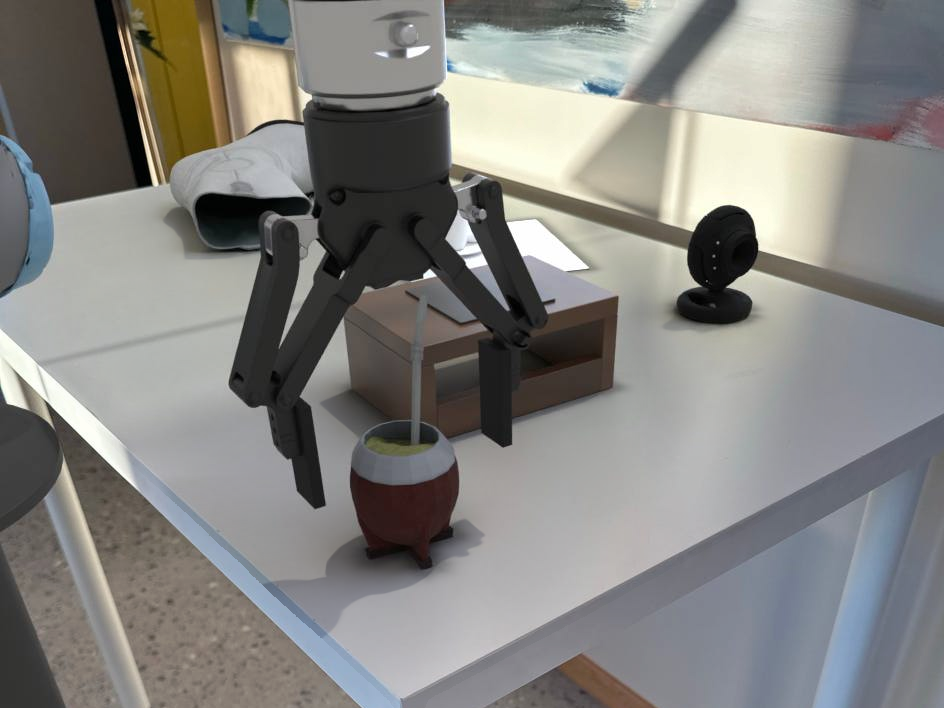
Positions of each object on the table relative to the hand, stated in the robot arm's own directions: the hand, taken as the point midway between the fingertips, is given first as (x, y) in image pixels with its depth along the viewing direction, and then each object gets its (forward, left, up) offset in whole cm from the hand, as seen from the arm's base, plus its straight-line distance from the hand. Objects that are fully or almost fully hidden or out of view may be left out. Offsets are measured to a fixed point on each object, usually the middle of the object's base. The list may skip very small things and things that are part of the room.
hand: (408, 467), depth 62 cm
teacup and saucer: (-50, +37, -6) cm, 63 cm away
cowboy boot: (-77, +24, -6) cm, 81 cm away
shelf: (-18, +17, -6) cm, 26 cm away
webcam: (-20, +46, -6) cm, 51 cm away
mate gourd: (0, 0, -6) cm, 6 cm away
